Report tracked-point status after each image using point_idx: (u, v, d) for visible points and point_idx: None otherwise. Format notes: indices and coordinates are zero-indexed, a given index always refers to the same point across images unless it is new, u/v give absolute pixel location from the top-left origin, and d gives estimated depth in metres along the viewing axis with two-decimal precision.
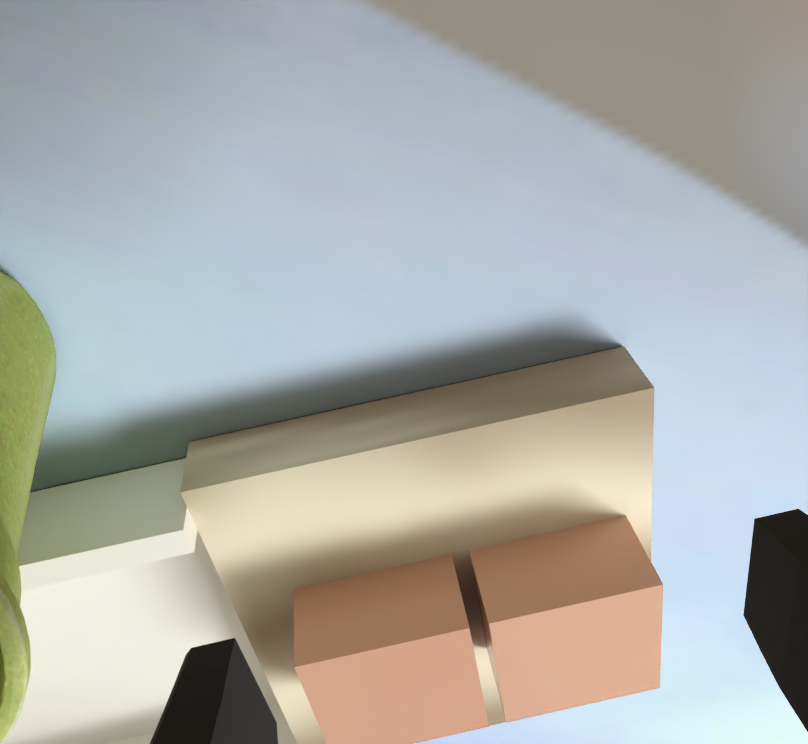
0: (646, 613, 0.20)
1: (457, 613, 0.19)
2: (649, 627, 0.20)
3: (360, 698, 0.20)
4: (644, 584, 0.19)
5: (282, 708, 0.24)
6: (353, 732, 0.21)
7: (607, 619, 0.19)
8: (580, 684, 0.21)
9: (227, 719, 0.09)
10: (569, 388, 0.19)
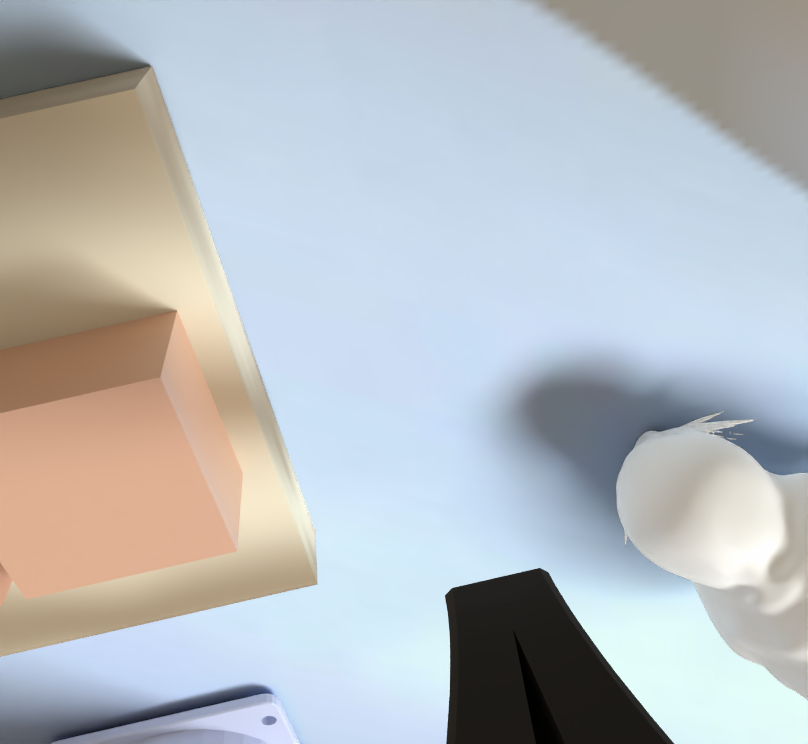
0: (157, 427, 0.14)
1: None
2: (173, 450, 0.14)
3: None
4: (138, 379, 0.13)
5: None
6: None
7: (99, 434, 0.14)
8: (111, 541, 0.15)
9: (516, 651, 0.09)
10: (36, 103, 0.14)
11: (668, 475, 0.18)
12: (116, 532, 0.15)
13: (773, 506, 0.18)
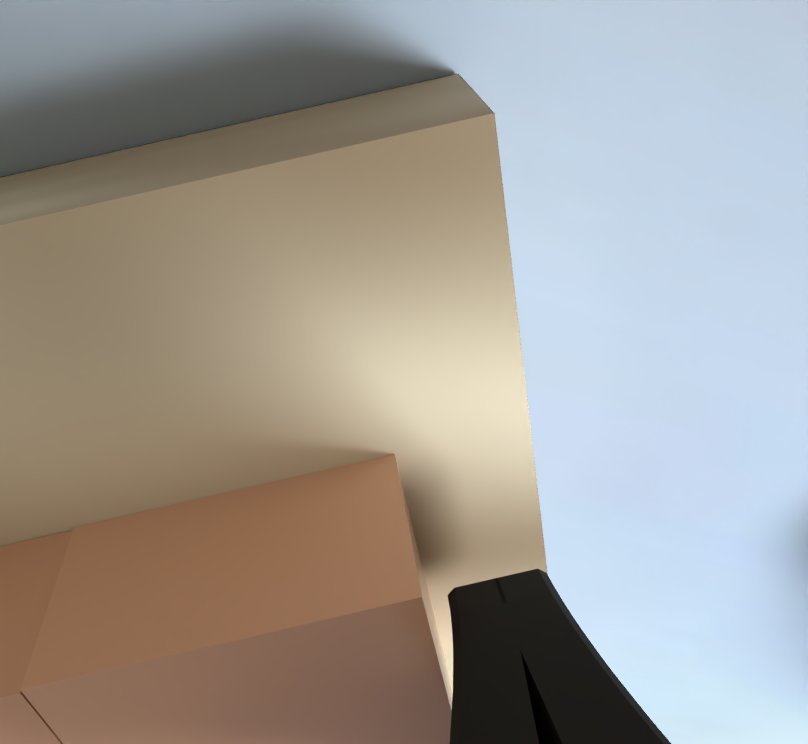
0: (401, 660, 0.09)
1: (15, 657, 0.09)
2: (417, 689, 0.09)
3: None
4: (383, 596, 0.08)
5: None
6: None
7: (312, 675, 0.09)
8: None
9: (518, 651, 0.09)
10: (315, 135, 0.09)
11: None
12: None
13: None
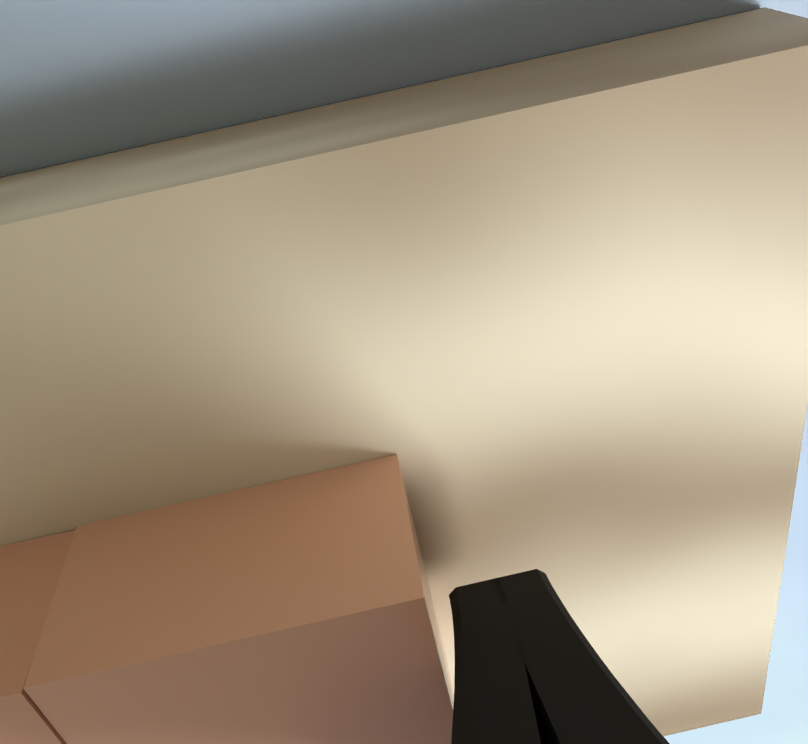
0: (403, 660, 0.09)
1: (17, 657, 0.09)
2: (419, 689, 0.09)
3: None
4: (385, 597, 0.08)
5: None
6: None
7: (314, 675, 0.09)
8: None
9: (520, 651, 0.09)
10: (661, 59, 0.09)
11: None
12: None
13: None
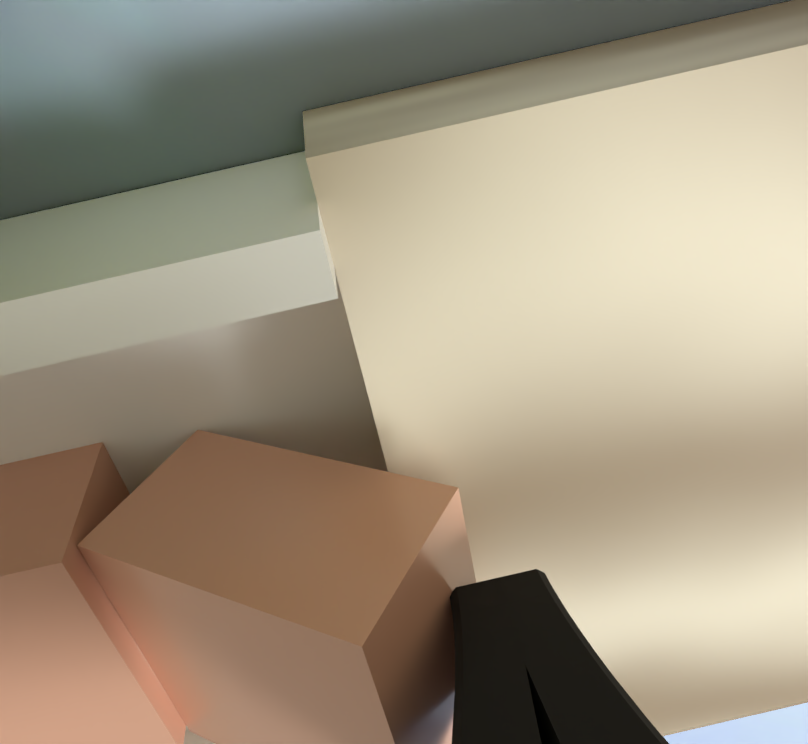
0: (349, 689, 0.09)
1: (55, 537, 0.10)
2: (366, 721, 0.09)
3: None
4: (336, 625, 0.08)
5: None
6: None
7: (275, 655, 0.09)
8: None
9: (521, 650, 0.09)
10: None
11: None
12: (285, 743, 0.11)
13: None
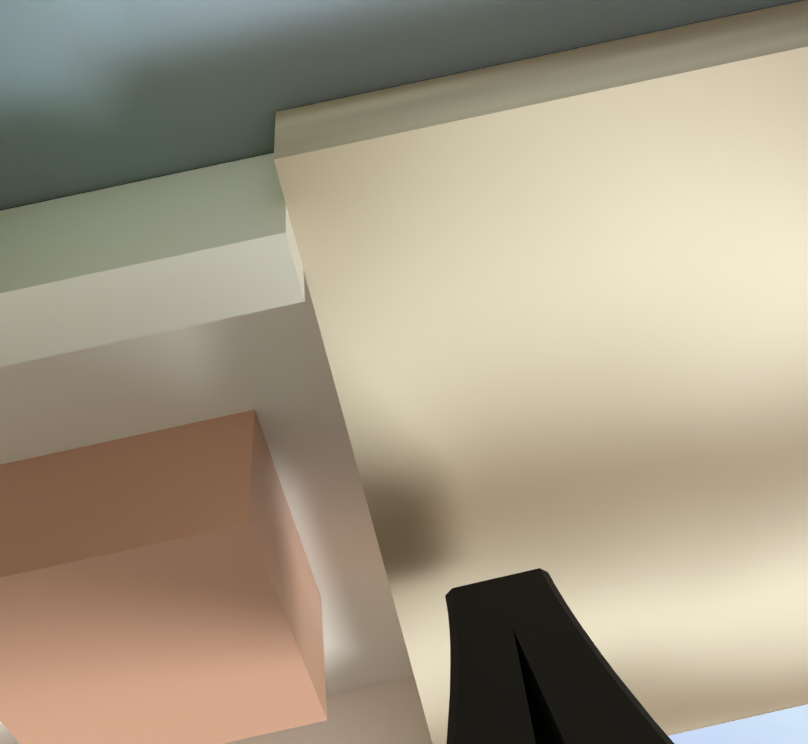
0: (239, 582, 0.10)
1: None
2: (257, 610, 0.10)
3: None
4: (216, 523, 0.10)
5: (418, 683, 0.13)
6: None
7: (159, 594, 0.10)
8: (166, 715, 0.11)
9: (517, 652, 0.09)
10: None
11: None
12: (173, 704, 0.11)
13: None
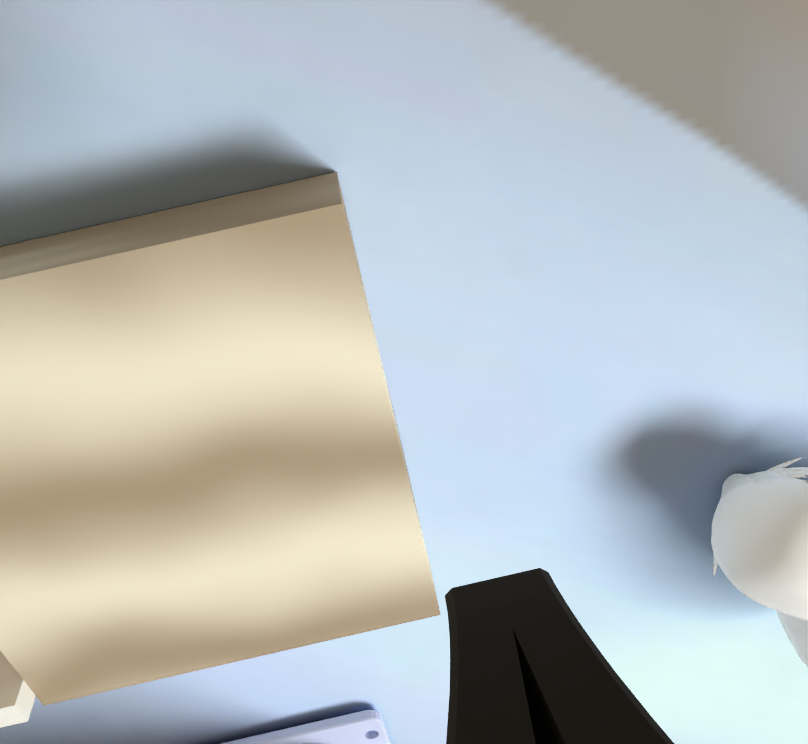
0: None
1: None
2: None
3: None
4: None
5: None
6: None
7: None
8: None
9: (517, 652, 0.09)
10: (249, 211, 0.16)
11: (766, 519, 0.20)
12: None
13: None
